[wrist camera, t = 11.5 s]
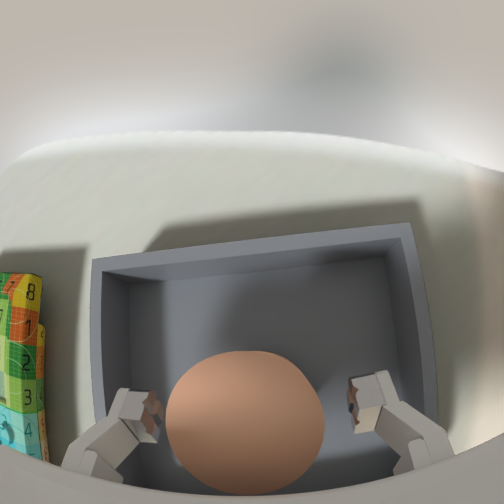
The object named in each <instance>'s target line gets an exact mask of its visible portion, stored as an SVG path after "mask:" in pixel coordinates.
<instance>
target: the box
mask: <svg viewBox="0 0 504 504" xmlns="http://www.w3.org/2000/svg"><path fill="white" fill-rule="evenodd" d="M233 351H272V352H276V353H279V354H282V355H284V356H286V357H287V358H289V359H290V360H292V361H293V362H294V363H295V364H296V365H297V366H298V368H299V369H300V370H301V372H302V373H303V374H304V376H305V377H306V379H307V380H308V381H309V383H310V384H311V386H312V387H313V389H314V390H315V392H316V394H317V396H318V398H319V400H320V402H321V406H322V409H323V413H324V420H325V431H324V438H323V442H322V445H321V448H320V451H319V453H318V455H317V457H316V459H315V460H314V462H313V463H312V465H311V466H310V467H309V468H308V470H307V471H306V472H305V473H304V474H303V475H301V476H300V477H299V478H298V479H297V480H295V481H294V482H292V483H290V484H289V485H287V486H285V487H283V488H281V489H278V490H275V491H272V492H269V493H264V494H257V495H238V494H232V493H227V492H223V491H220V490H217V489H215V488H212V487H210V486H208V485H206V484H205V483H203V482H201V481H200V480H198V479H197V478H195V477H194V476H193V475H192V474H191V473H190V472H188V471H187V470H186V469H185V467H184V466H183V465H182V464H181V463H180V461H179V460H178V458H177V457H176V455H175V454H174V452H173V450H172V448H171V446H170V443H169V440H168V436H167V431H166V420H165V418H166V408H167V404H168V400H169V398H170V395H171V393H172V391H173V389H174V387H175V385H176V384H177V382H178V381H179V380H180V378H181V377H182V376H183V375H184V374H185V373H186V372H187V371H188V370H189V369H191V368H192V367H193V366H195V365H196V364H197V363H199V362H201V361H203V360H205V359H207V358H209V357H212V356H214V355H218V354H221V353H225V352H233ZM90 361H91V379H92V392H93V403H94V412H95V421H96V423H97V422H99V421H100V420H101V419H102V418H104V417H107V416H108V414H109V411H110V408H111V406H112V403H113V401H114V398H115V396H116V393H117V391H118V390H119V389H120V388H130V389H142V390H154V392H155V393H156V395H157V396H156V399H157V400H159V401H160V402H161V403H162V405H163V409H164V418H163V422H162V423H161V424H160V425H159V426H158V427H159V429H160V434H159V438H158V442H157V443H149V442H139V444H138V445H137V446H136V447H135V448H134V449H133V450H132V452H131V453H130V454H129V455H128V456H127V457H126V458H125V459H124V460H123V461H122V462H121V463H120V465H119V466H118V467H117V468H116V469H115V470H116V471H117V472H118V473H119V474H120V475H122V477H123V478H124V479H123V483H122V484H126V485H131V486H136V487H142V488H147V489H154V490H161V491H168V492H177V493H186V494H198V495H216V496H267V495H284V494H296V493H306V492H315V491H322V490H329V489H335V488H341V487H347V486H352V485H357V484H362V483H367V482H371V481H376V480H380V479H384V478H388V477H392V476H394V473H393V469H394V467H395V465H396V464H397V462H398V461H399V459H400V457H401V456H400V455H399V454H398V453H397V452H396V451H394V450H393V449H392V448H391V447H390V446H389V445H388V444H387V443H386V442H385V441H384V440H383V439H382V438H381V437H380V436H379V435H378V434H377V433H376V432H374V431H375V430H374V431H369V432H364V433H358V434H354V433H353V429H352V424H351V416H352V414H351V413H350V412H349V411H348V406H347V390H348V389H349V385H348V380H349V377H352V376H358V375H363V374H368V373H373V372H379V371H384V370H387V371H388V372H389V375H390V377H391V380H392V382H393V385H394V387H395V390H396V393H397V395H398V398H399V401H404V402H406V403H407V404H408V405H410V406H411V407H413V408H414V409H416V410H417V411H418V412H420V413H421V414H423V415H424V416H426V417H427V418H429V419H430V420H432V421H433V422H434V423H436V424H437V425H438V396H437V378H436V365H435V354H434V345H433V336H432V328H431V321H430V314H429V308H428V302H427V296H426V291H425V285H424V280H423V275H422V270H421V265H420V261H419V256H418V252H417V248H416V244H415V239H414V236H413V232H412V228H411V224H410V222H405V223H395V224H385V225H376V226H366V227H356V228H347V229H338V230H329V231H319V232H310V233H301V234H292V235H284V236H275V237H266V238H257V239H249V240H240V241H232V242H224V243H215V244H207V245H199V246H191V247H182V248H174V249H166V250H158V251H151V252H143V253H135V254H127V255H120V256H112V257H104V258H97V259H92V270H91V289H90Z"/></svg>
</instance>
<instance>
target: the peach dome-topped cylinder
mask: <svg viewBox="0 0 504 504" xmlns="http://www.w3.org/2000/svg"><path fill="white" fill-rule="evenodd" d="M165 420H166V431H167V436H168V440H169V443H170V446H171V448H172V450H173V452H174V454H175V455H176V457H177V458H178V460H179V461H180V463H181V464H182V465H183V466H184V467H185V469H186V470H187V471H188V472H190V473H191V474H192V475H193V476H194V477H195V478H197V479H198V480H200V481H201V482H203V483H205V484H206V485H208V486H210V487H212V488H215V489H217V490H220V491H223V492H227V493H232V494H238V495H257V494H264V493H269V492H272V491H275V490H278V489H281V488H283V487H285V486H287V485H289V484H290V483H292V482H294V481H295V480H297V479H298V478H299V477H300V476H301V475H303V474H304V473H305V472H306V471H307V470H308V468H309V467H310V466H311V465H312V463H313V462H314V460H315V459H316V457H317V455H318V453H319V451H320V448H321V445H322V442H323V438H324V431H325V420H324V413H323V409H322V406H321V402H320V400H319V398H318V396H317V394H316V392H315V390H314V389H313V387H312V386H311V384H310V383H309V381H308V380H307V379H306V377H305V376H304V374H303V373H302V372H301V370H300V369H299V368H298V366H297V365H296V364H295V363H294V362H293V361H292V360H290V359H289V358H287V357H286V356H284V355H282V354H279V353H276V352H272V351H233V352H225V353H221V354H218V355H214V356H212V357H209V358H207V359H205V360H203V361H201V362H199V363H197V364H196V365H195V366H193V367H192V368H191V369H189V370H188V371H187V372H186V373H185V374H184V375H183V376H182V377H181V378H180V380H179V381H178V382H177V384H176V385H175V387H174V389H173V391H172V393H171V395H170V398H169V400H168V404H167V408H166V418H165Z"/></svg>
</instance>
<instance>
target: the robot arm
mask: <svg viewBox="0 0 504 504" xmlns="http://www.w3.org/2000/svg"><path fill="white" fill-rule="evenodd" d="M348 385H349V389H348V390H347V406H348V411H349V412H350V413H351V414H352V416H351V424H352V429H353V433H354V434H358V433H364V432H369V431H374V430H375V431H374V432H376V433H377V434H378V435H379V436H380V437H381V438H382V439H383V440H384V441H385V442H386V443H387V444H388V445H389V446H390V447H391V448H392V449H393V450H394V451H396V452H397V453H398V454H399V455H400V456H401V457H400V459H399V461H398V462H397V464H396V465H395V467H394V469H393V473H394V476H392V477H388V478H384V479H380V480H376V481H371V482H367V483H362V484H357V485H352V486H347V487H341V488H335V489H329V490H322V491H315V492H306V493H296V494H284V495H267V496H216V495H198V494H186V493H177V492H168V491H161V490H154V489H147V488H142V487H136V486H131V485H126V484H122V483H123V479H124V478H123V477H122V475H120V474H119V473H118V472H117V471H116V470H115V469H116V468H117V467H118V466H119V465H120V463H121V462H122V461H123V460H124V459H125V458H126V457H127V456H128V455H129V454H130V453H131V452H132V450H133V449H134V448H135V447H136V446H137V445H138V444H139V442H149V443H157V442H158V438H159V434H160V429H159V427H158V426H159V425H160V424H161V423H162V422H163V418H164V409H163V405H162V403H161V402H160V401H159V400H157V399H156V396H157V395H156V393H155V392H154V390H142V389H130V388H120V389H119V390H118V391H117V393H116V396H115V398H114V401H113V403H112V406H111V408H110V411H109V414H108V416H107V417H104V418H102V419H101V420H100V421H99V422H97V423H96V424H95V425H93V426H92V427H91V428H90V429H88V430H87V431H86V432H85V433H83V434H82V435H81V436H80V437H78V438H77V439H76V440H74V441H73V442H72V443H71V444H69V446H68V449H67V451H66V454H65V456H64V459H63V462H62V464H61V467H59V466H56V465H53V464H50V463H48V462H45V461H42V460H40V459H37V458H35V457H32V456H30V455H27V454H25V453H22V452H20V451H18V450H15V449H13V448H11V447H9V446H7V445H0V504H504V433H502V434H500V435H498V436H496V437H494V438H492V439H490V440H488V441H486V442H484V443H482V444H480V445H478V446H476V447H473V448H471V449H469V450H467V451H464V452H462V453H459V454H457V455H454V452H453V449H452V447H451V444H450V441H449V439H448V436H447V434H446V431H445V429H443V428H442V427H440V426H439V425H437V424H436V423H434V422H433V421H432V420H430V419H429V418H427V417H426V416H424V415H423V414H421V413H420V412H418V411H417V410H416V409H414V408H413V407H411V406H410V405H408V404H407V403H406V402H404V401H399V398H398V395H397V393H396V390H395V387H394V385H393V382H392V380H391V377H390V375H389V372H388V371H387V370H384V371H379V372H373V373H368V374H363V375H358V376H352V377H349V380H348Z"/></svg>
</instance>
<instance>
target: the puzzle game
mask: <svg viewBox="0 0 504 504" xmlns="http://www.w3.org/2000/svg"><path fill="white" fill-rule="evenodd" d="M42 289H43V286H42V279H41V277H40V276H38V275H35V274H33V273H5V272H0V445H7V446H9V447H11V448H13V449H15V450H18V451H20V452H22V453H25V454H27V455H30V456H32V457H35V458H37V459H40V460H42V461H45V462H48V463H50V459H49V451H48V443H47V433H46V421H45V403H44V351H45V329H44V326H43V325H41V324H39V323H38V321H39V311H40V303H41V296H42Z"/></svg>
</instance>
